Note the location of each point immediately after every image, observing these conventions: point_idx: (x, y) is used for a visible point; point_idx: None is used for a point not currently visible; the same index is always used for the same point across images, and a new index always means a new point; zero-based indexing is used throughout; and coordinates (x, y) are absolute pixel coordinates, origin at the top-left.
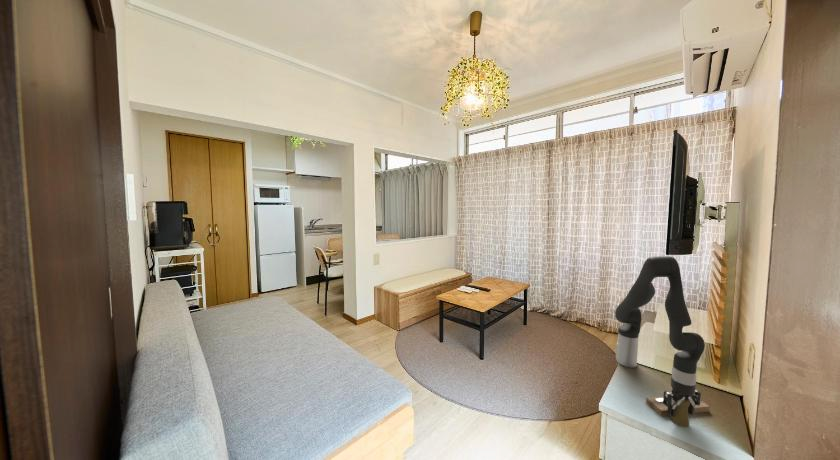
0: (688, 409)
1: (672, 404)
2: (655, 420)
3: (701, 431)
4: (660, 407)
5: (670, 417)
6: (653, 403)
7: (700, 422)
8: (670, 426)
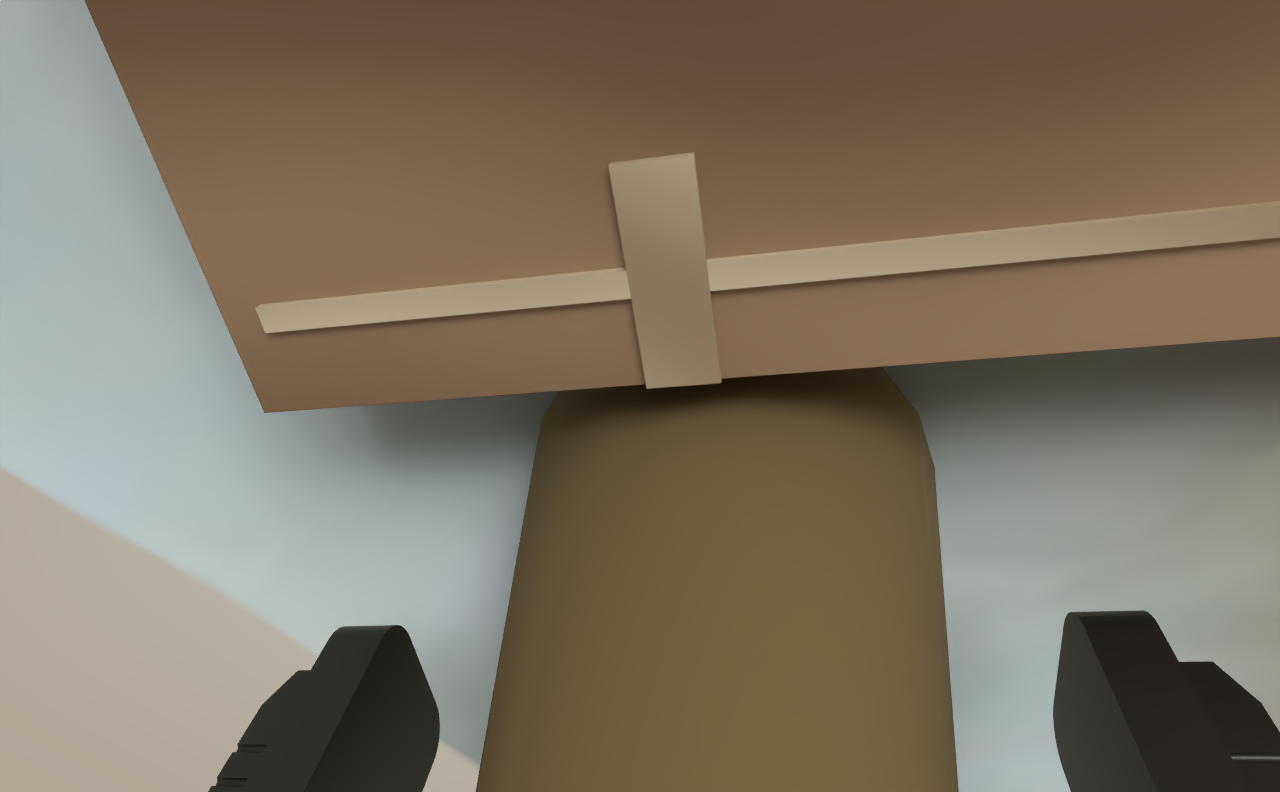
0: (1113, 773)
1: (959, 67)
2: (149, 451)
3: (965, 737)
4: (300, 263)
5: (551, 413)
6: (110, 24)
7: (1267, 549)
8: (398, 603)
